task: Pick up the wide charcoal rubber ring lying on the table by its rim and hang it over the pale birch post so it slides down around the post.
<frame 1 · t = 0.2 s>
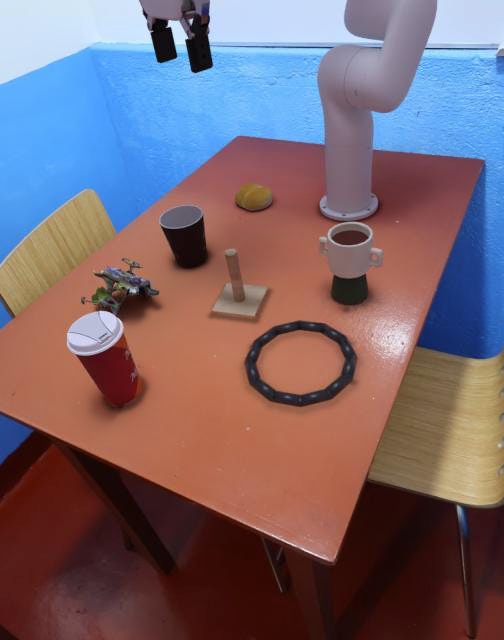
hand: (184, 65, 66), 37 cm above the table, tool pointing down, fingers open, 9 cm apart
bread roll: (254, 203, 111), on the table
post: (241, 303, 84), on the table
ring: (300, 360, 71), point 1 cm above the table
passion flower: (127, 309, 88), on the table
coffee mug: (194, 255, 98), on the table
paper cup: (125, 393, 72), on the table
white handled cup: (349, 298, 82), on the table
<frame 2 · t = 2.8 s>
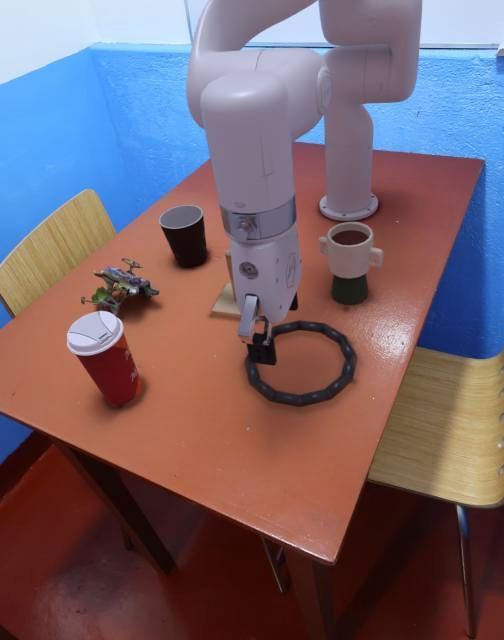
hand: (275, 333, 58), 13 cm above the table, tool pointing down, fingers open, 9 cm apart
nothing on the table moved.
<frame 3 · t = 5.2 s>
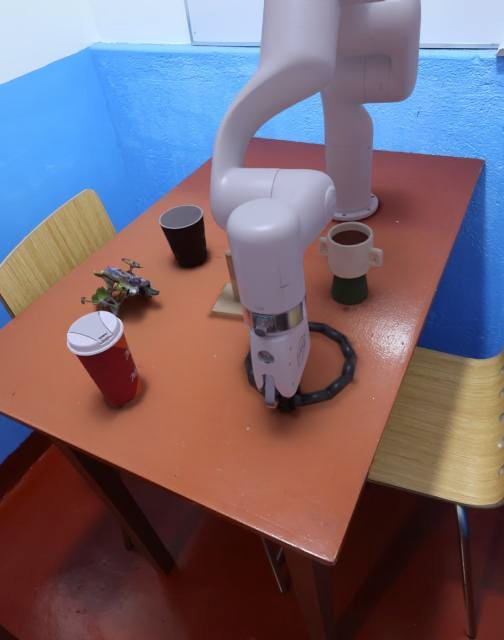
hand: (287, 401, 67), 0 cm above the table, tool pointing down, fingers closed on ring, 1 cm apart
ring: (299, 360, 71), point 1 cm above the table, touching gripper
everything else where it was.
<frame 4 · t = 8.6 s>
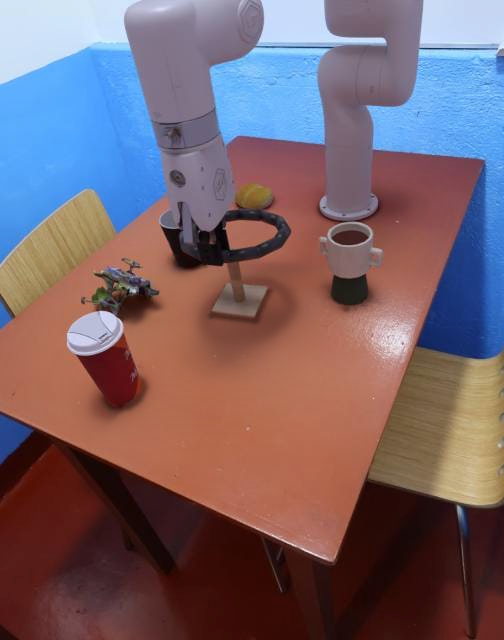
hand: (216, 258, 66), 17 cm above the table, tool pointing down, fingers closed on ring, 1 cm apart
ring: (234, 233, 71), point 16 cm above the table, tilted 9°, touching gripper
everything else where it was.
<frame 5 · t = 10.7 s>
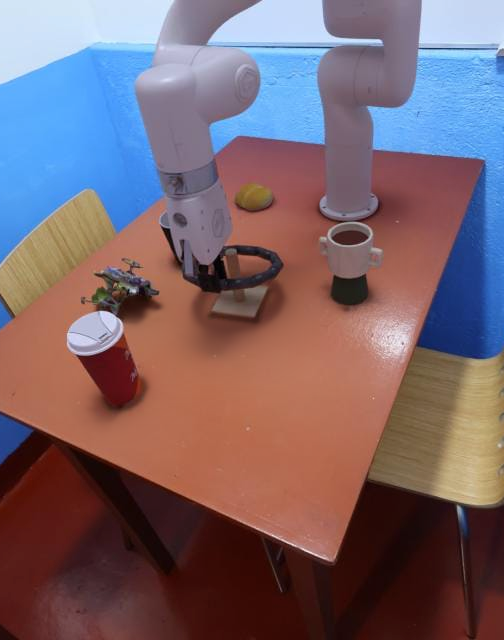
hand: (214, 285, 72), 10 cm above the table, tool pointing down, fingers closed on ring, 1 cm apart
ring: (232, 265, 78), point 9 cm above the table, tilted 15°, touching gripper
everything else where it was.
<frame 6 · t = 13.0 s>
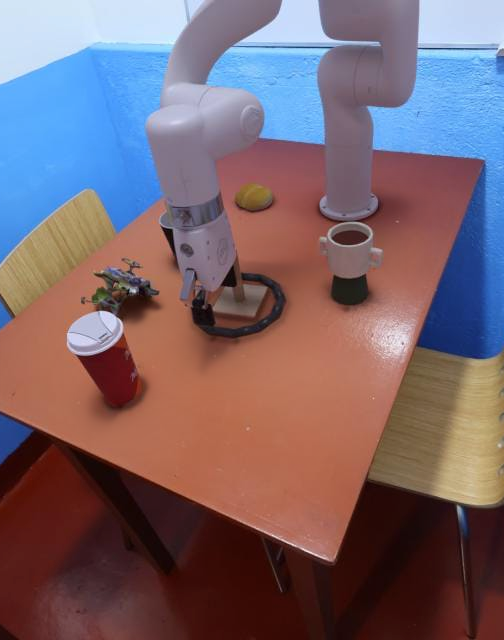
hand: (217, 303, 74), 7 cm above the table, tool pointing down, fingers open, 9 cm apart
ring: (237, 303, 83), point 1 cm above the table
everything else where it was.
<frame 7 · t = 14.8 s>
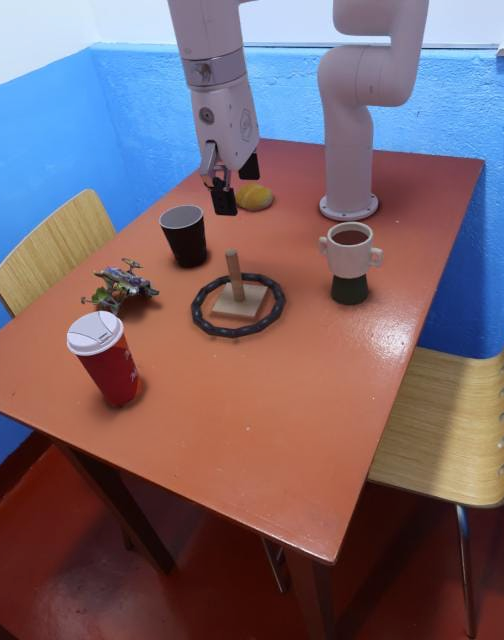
hand: (239, 196, 67), 22 cm above the table, tool pointing down, fingers open, 9 cm apart
nothing on the table moved.
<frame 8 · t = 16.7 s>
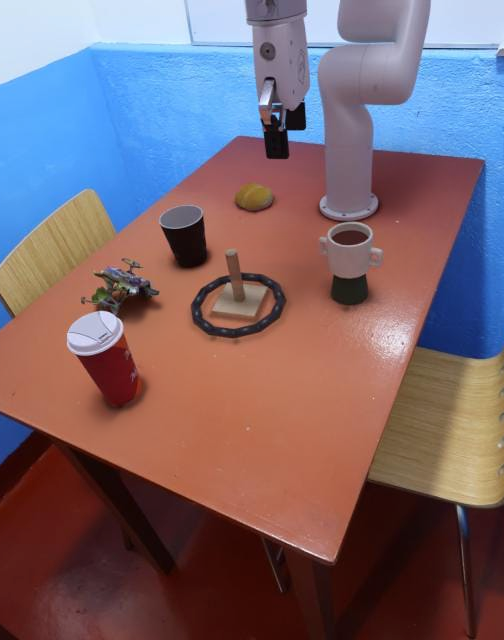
hand: (287, 143, 68), 26 cm above the table, tool pointing down, fingers open, 9 cm apart
nothing on the table moved.
at the end: ring 1.1 cm off-centre on the post, point 0.9 cm above the post's base; the gripper is holding nothing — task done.
